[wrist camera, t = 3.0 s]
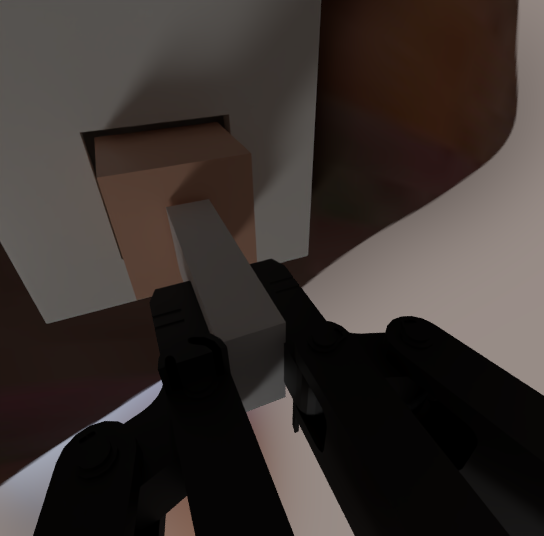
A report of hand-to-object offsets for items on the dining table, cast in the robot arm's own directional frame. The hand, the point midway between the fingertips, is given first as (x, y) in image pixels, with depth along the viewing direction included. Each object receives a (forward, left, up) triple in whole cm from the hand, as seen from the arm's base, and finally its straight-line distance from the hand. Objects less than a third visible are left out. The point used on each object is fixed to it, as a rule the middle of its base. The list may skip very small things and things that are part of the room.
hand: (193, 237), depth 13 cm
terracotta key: (0, 0, -5) cm, 5 cm away
